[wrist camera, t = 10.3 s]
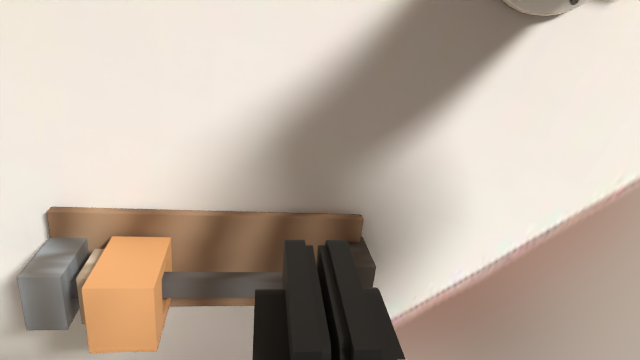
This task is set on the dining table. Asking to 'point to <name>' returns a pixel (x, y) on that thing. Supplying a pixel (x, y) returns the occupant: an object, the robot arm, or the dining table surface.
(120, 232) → the rod slider toy
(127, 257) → the sleeve
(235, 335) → the dining table surface
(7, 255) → the dining table surface
